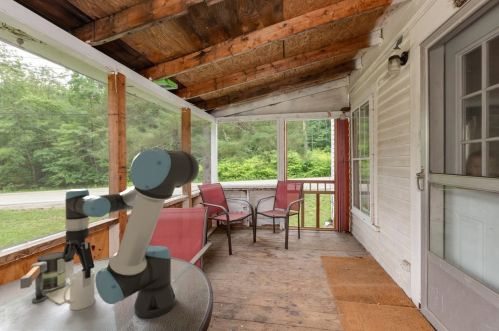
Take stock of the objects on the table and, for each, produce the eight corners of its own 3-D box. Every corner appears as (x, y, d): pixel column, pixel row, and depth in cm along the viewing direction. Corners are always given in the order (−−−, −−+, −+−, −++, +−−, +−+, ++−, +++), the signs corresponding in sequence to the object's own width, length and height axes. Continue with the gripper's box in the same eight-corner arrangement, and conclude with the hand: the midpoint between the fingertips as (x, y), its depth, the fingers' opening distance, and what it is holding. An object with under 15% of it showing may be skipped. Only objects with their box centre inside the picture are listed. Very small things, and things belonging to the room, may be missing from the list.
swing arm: (33, 270, 100) (33, 262, 100) (48, 268, 102) (48, 260, 102) (15, 289, 85) (15, 279, 85) (33, 286, 87) (33, 276, 87)
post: (48, 299, 100) (47, 271, 100) (34, 304, 96) (34, 275, 96) (43, 296, 102) (43, 269, 102) (30, 301, 98) (30, 273, 98)
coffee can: (43, 293, 104) (43, 261, 104) (33, 288, 109) (32, 257, 109) (70, 283, 113) (70, 253, 113) (59, 278, 118) (59, 250, 118)
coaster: (94, 290, 106) (93, 288, 106) (59, 305, 95) (59, 303, 95) (79, 283, 113) (79, 281, 113) (45, 296, 102) (45, 294, 102)
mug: (70, 317, 87) (70, 284, 87) (54, 312, 90) (54, 281, 90) (100, 299, 99) (99, 271, 99) (85, 296, 101) (85, 268, 101)
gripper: (104, 230, 91) (104, 285, 92) (73, 222, 104) (73, 270, 104) (83, 235, 85) (83, 294, 85) (52, 226, 97) (52, 277, 98)
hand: (77, 281), depth 95 cm, fingers open, 13 cm apart
